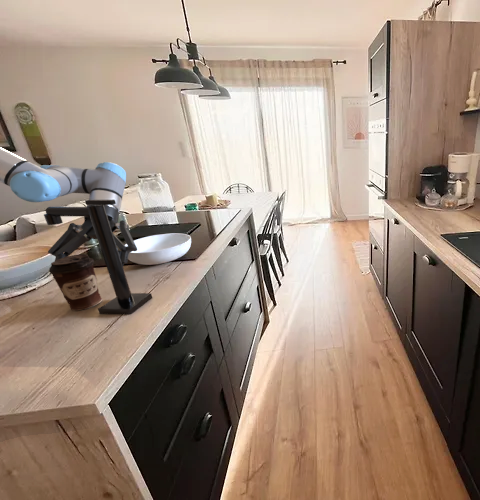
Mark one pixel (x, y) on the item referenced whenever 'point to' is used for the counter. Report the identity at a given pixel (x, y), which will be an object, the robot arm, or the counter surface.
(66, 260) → the coffee cup
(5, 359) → the counter surface
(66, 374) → the counter surface
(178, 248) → the serving bowl
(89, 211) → the tap
